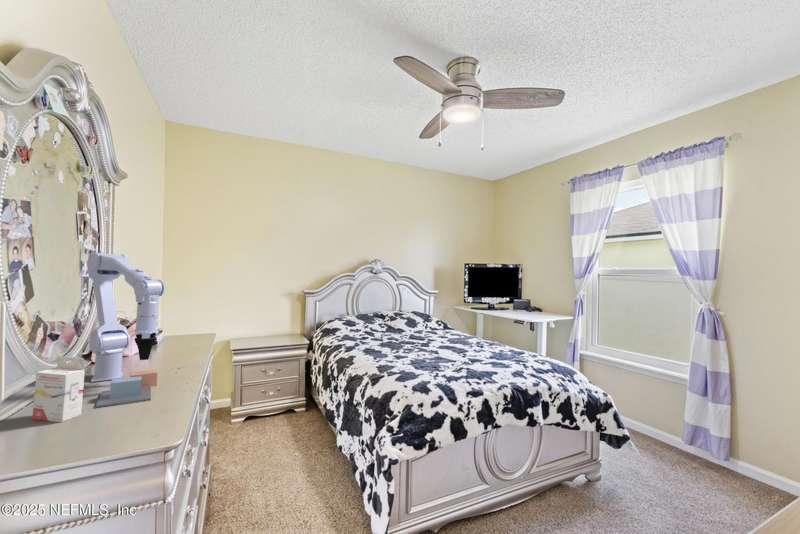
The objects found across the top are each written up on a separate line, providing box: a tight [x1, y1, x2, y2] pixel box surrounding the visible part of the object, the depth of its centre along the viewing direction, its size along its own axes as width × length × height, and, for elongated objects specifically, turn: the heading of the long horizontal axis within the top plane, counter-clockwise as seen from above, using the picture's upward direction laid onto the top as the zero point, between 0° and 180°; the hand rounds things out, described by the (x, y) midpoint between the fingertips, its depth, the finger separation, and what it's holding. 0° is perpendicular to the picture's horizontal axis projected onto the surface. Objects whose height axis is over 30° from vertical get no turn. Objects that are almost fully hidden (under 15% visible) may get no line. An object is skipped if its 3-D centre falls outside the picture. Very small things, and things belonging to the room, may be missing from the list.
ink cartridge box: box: [31, 355, 86, 423], centre depth 85 cm, size 9×5×15 cm, turn 84°
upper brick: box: [128, 369, 158, 387], centre depth 111 cm, size 4×7×4 cm, turn 131°
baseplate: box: [95, 385, 152, 409], centre depth 101 cm, size 14×12×1 cm
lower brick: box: [109, 376, 142, 399], centre depth 101 cm, size 4×7×4 cm, turn 127°
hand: (144, 357), depth 111 cm, fingers open, 7 cm apart
